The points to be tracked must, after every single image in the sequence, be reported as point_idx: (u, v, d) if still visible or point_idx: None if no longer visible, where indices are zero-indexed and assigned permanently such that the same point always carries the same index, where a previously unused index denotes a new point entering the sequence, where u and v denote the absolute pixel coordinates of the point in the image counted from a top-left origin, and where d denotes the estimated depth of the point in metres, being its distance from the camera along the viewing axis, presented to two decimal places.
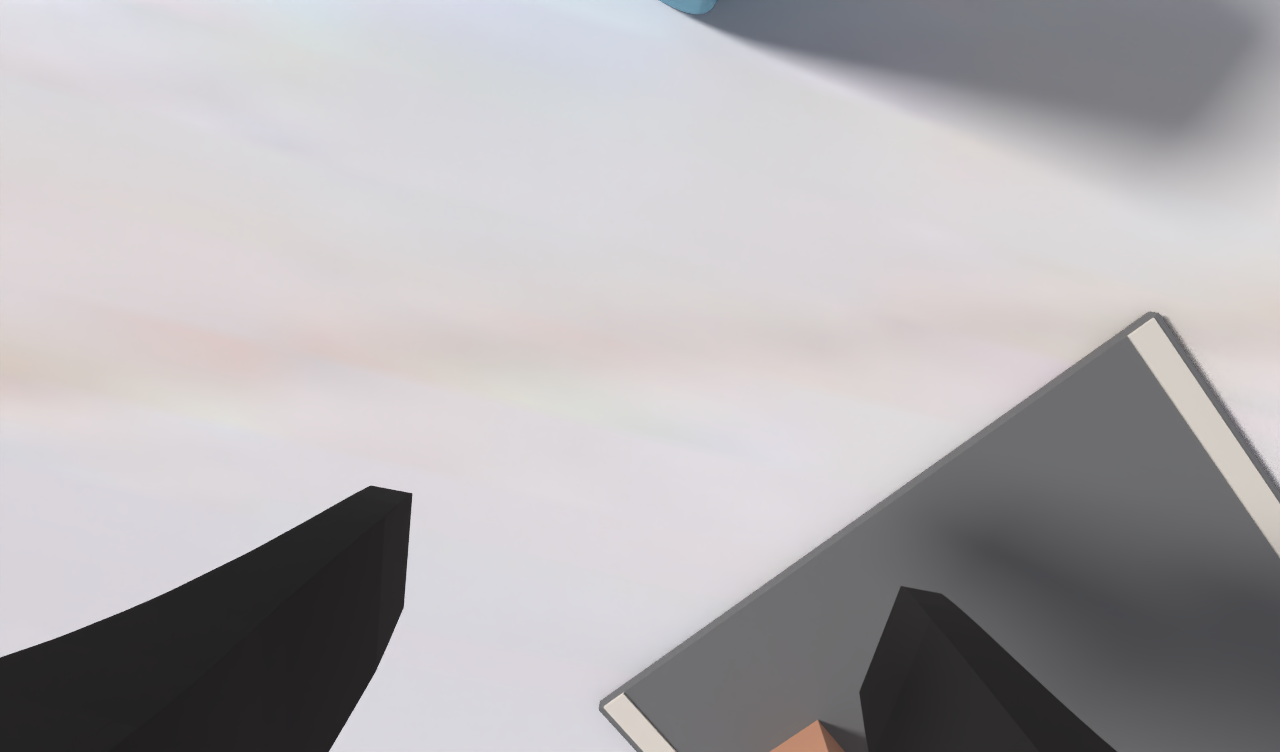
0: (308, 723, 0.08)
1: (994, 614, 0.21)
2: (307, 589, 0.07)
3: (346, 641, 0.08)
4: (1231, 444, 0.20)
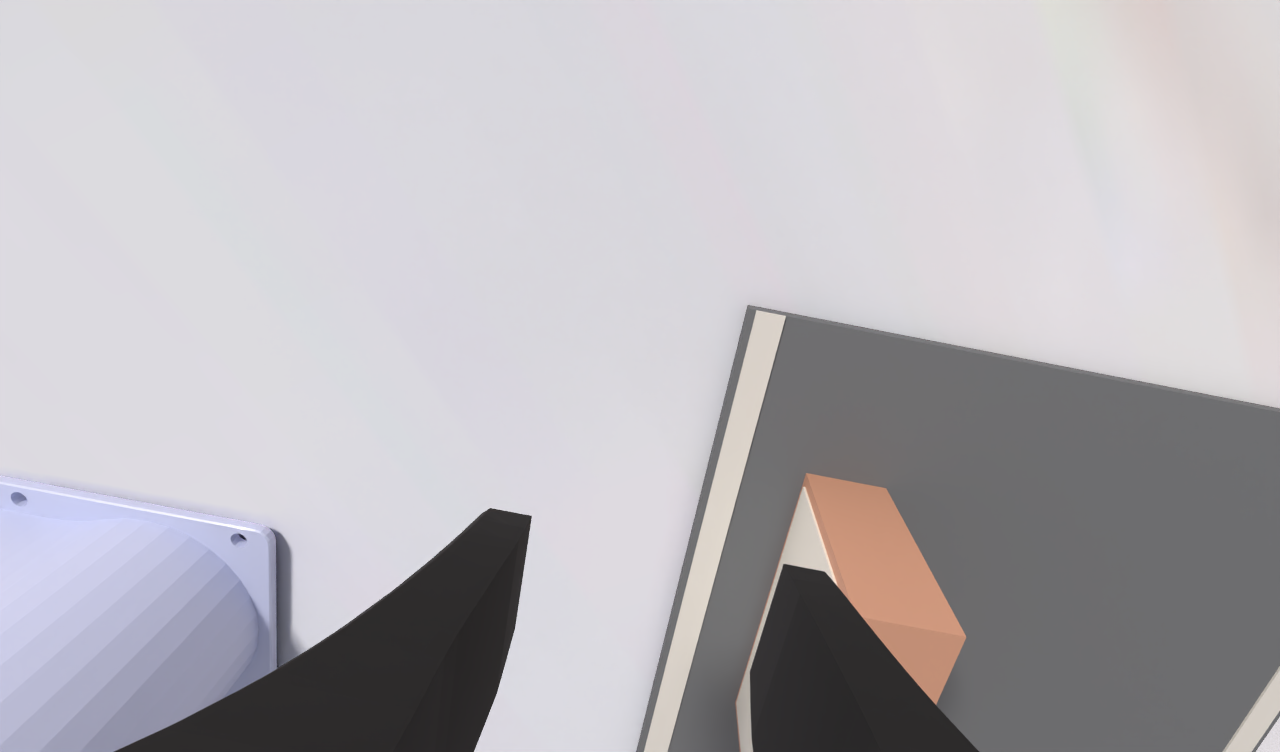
0: (456, 750, 0.08)
1: (1089, 538, 0.21)
2: (471, 620, 0.07)
3: (485, 667, 0.08)
4: None
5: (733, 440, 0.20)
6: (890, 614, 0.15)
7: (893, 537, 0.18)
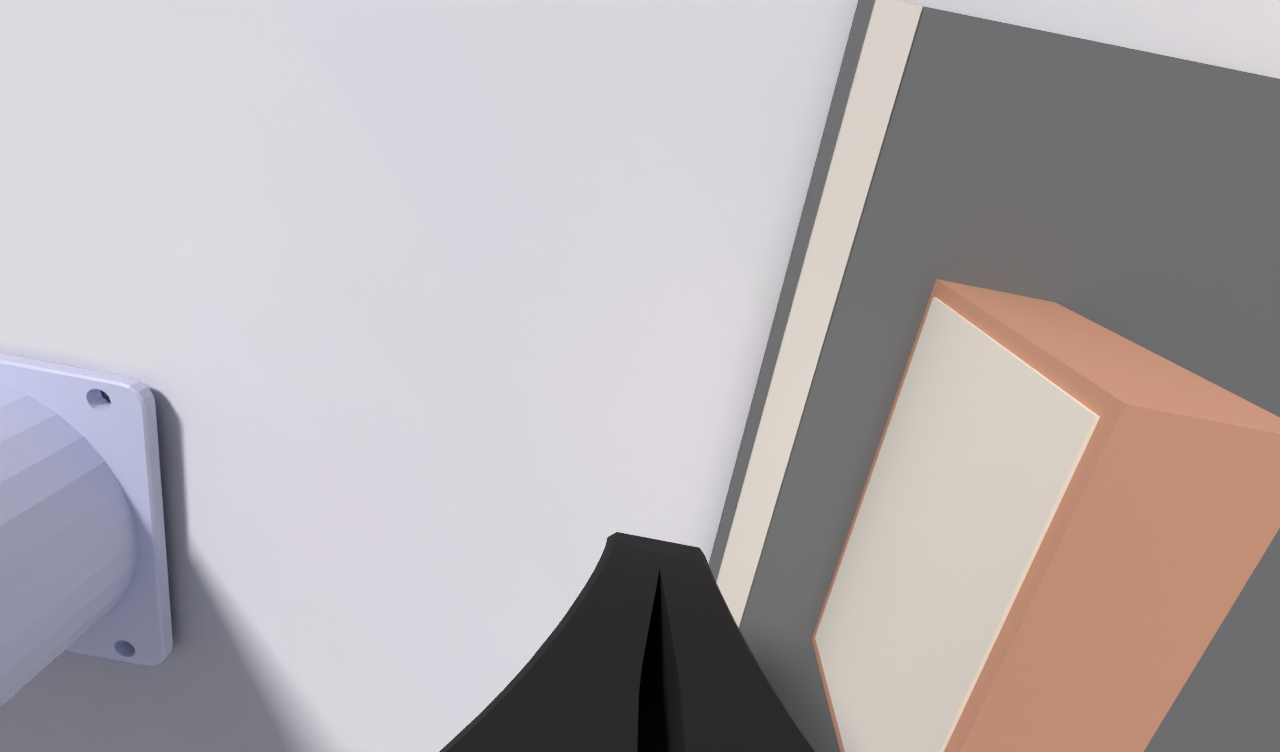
0: None
1: None
2: (643, 652, 0.07)
3: None
4: None
5: (829, 226, 0.13)
6: (1181, 408, 0.08)
7: (1106, 339, 0.11)
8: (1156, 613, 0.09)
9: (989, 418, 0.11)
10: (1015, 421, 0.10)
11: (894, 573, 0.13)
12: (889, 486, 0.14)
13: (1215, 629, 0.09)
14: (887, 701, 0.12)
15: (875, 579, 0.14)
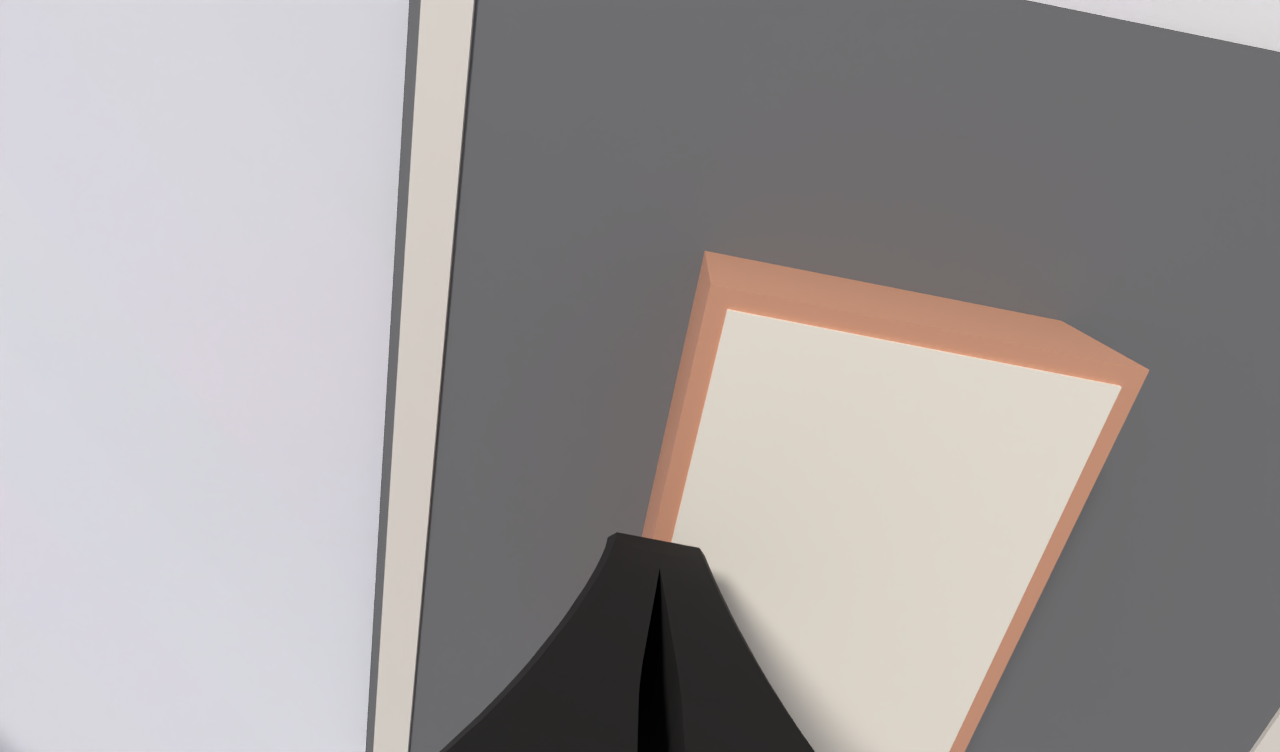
0: None
1: None
2: (643, 652, 0.07)
3: None
4: None
5: (431, 159, 0.12)
6: (1096, 346, 0.10)
7: (867, 289, 0.11)
8: None
9: (948, 423, 0.10)
10: (989, 414, 0.10)
11: (809, 612, 0.11)
12: (738, 544, 0.11)
13: None
14: (862, 705, 0.12)
15: (763, 635, 0.12)
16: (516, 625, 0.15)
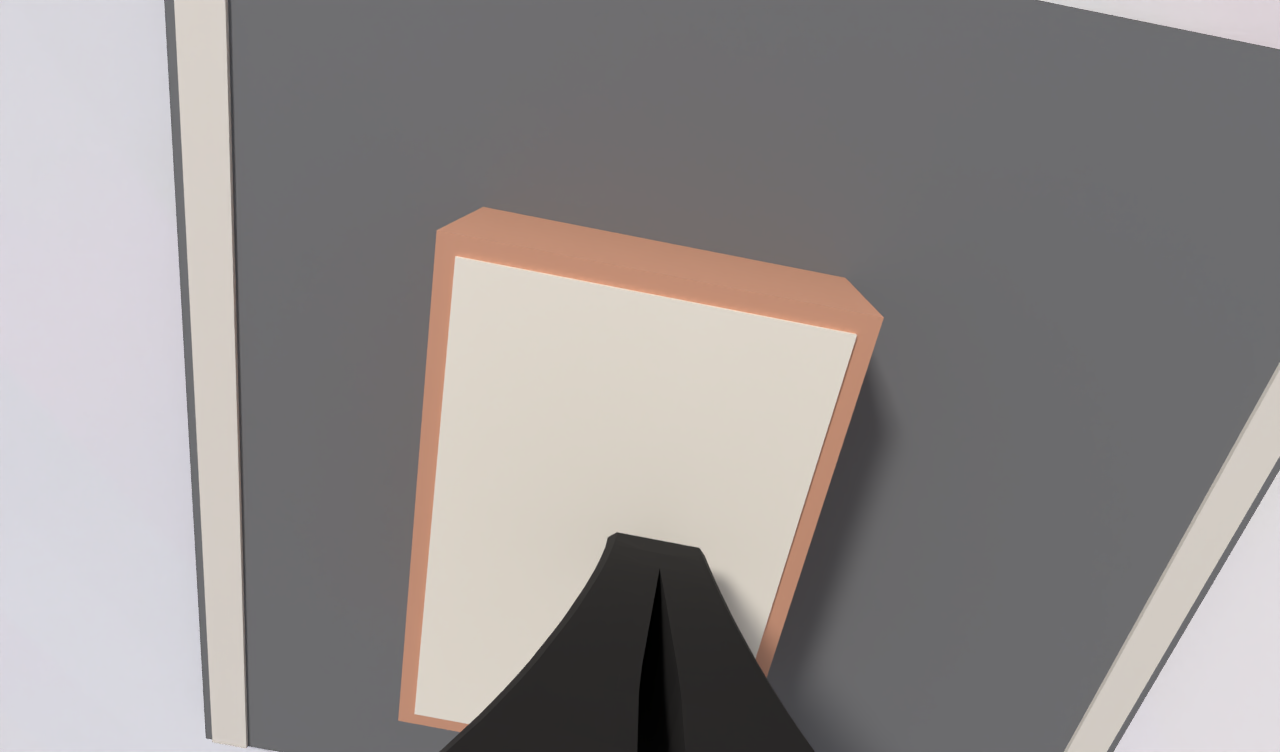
0: None
1: None
2: None
3: None
4: None
5: (201, 114, 0.11)
6: (849, 298, 0.10)
7: (638, 243, 0.11)
8: None
9: (690, 373, 0.10)
10: (730, 364, 0.10)
11: (580, 570, 0.11)
12: (499, 499, 0.11)
13: None
14: None
15: (538, 593, 0.11)
16: (339, 593, 0.15)
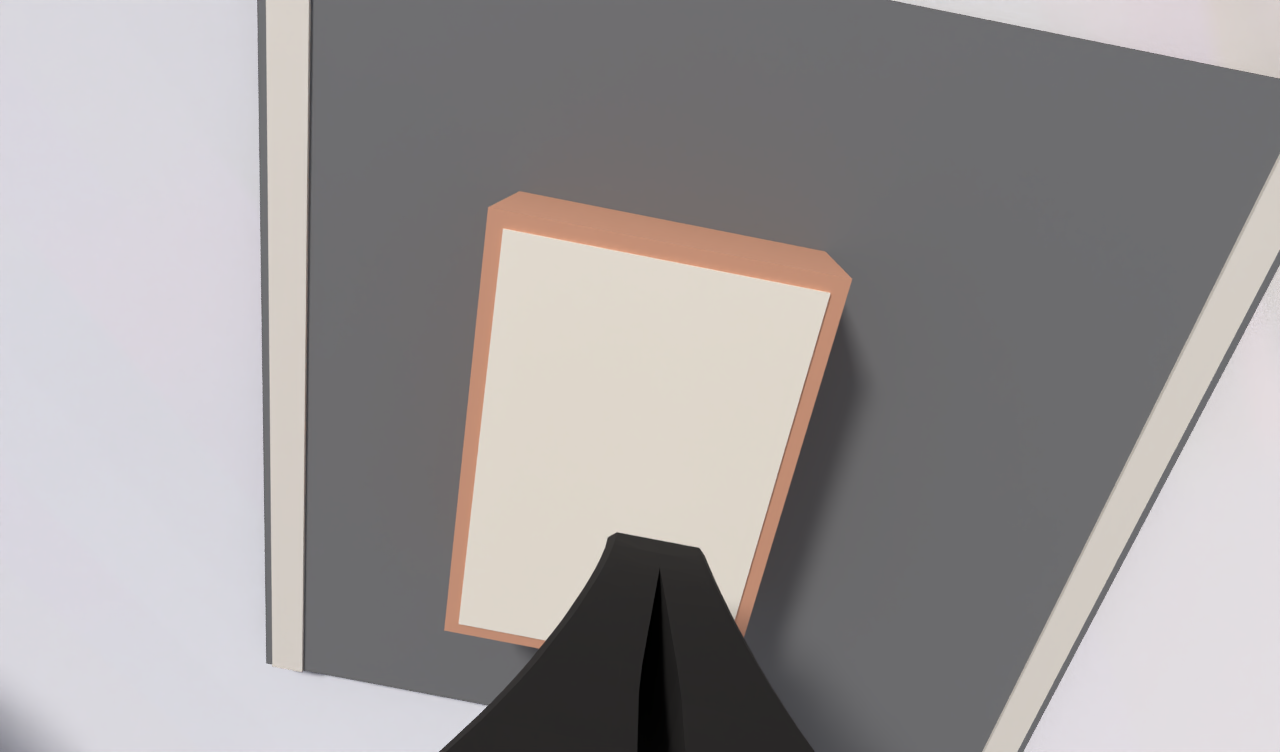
0: None
1: None
2: None
3: None
4: (1228, 329, 0.14)
5: (284, 113, 0.14)
6: (826, 265, 0.13)
7: (650, 221, 0.13)
8: None
9: (693, 325, 0.12)
10: (727, 318, 0.12)
11: (601, 495, 0.13)
12: (535, 433, 0.13)
13: None
14: None
15: (565, 515, 0.14)
16: (388, 529, 0.17)
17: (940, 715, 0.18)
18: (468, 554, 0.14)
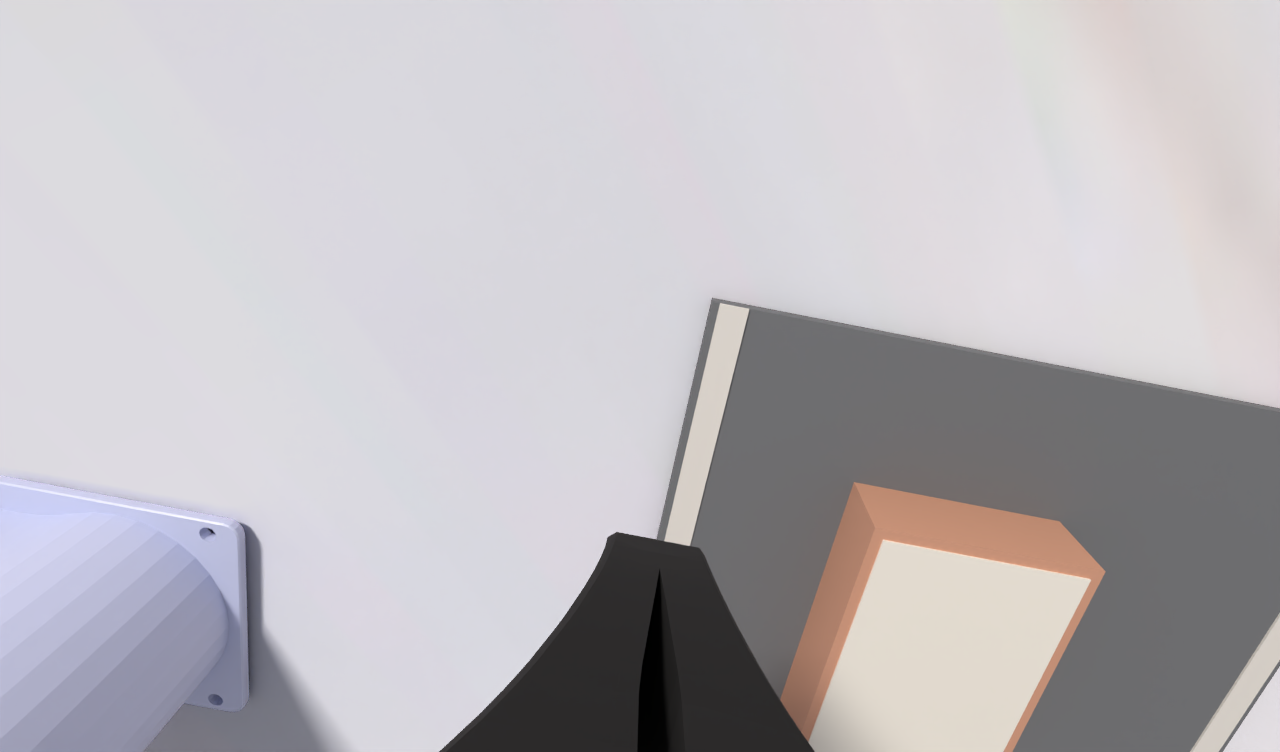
0: None
1: None
2: (643, 651, 0.07)
3: None
4: None
5: (700, 433, 0.20)
6: (1078, 551, 0.19)
7: (949, 508, 0.20)
8: None
9: (998, 596, 0.19)
10: (1020, 591, 0.19)
11: (916, 692, 0.20)
12: (879, 655, 0.20)
13: None
14: (944, 743, 0.21)
15: (889, 704, 0.20)
16: None
17: None
18: (816, 726, 0.21)
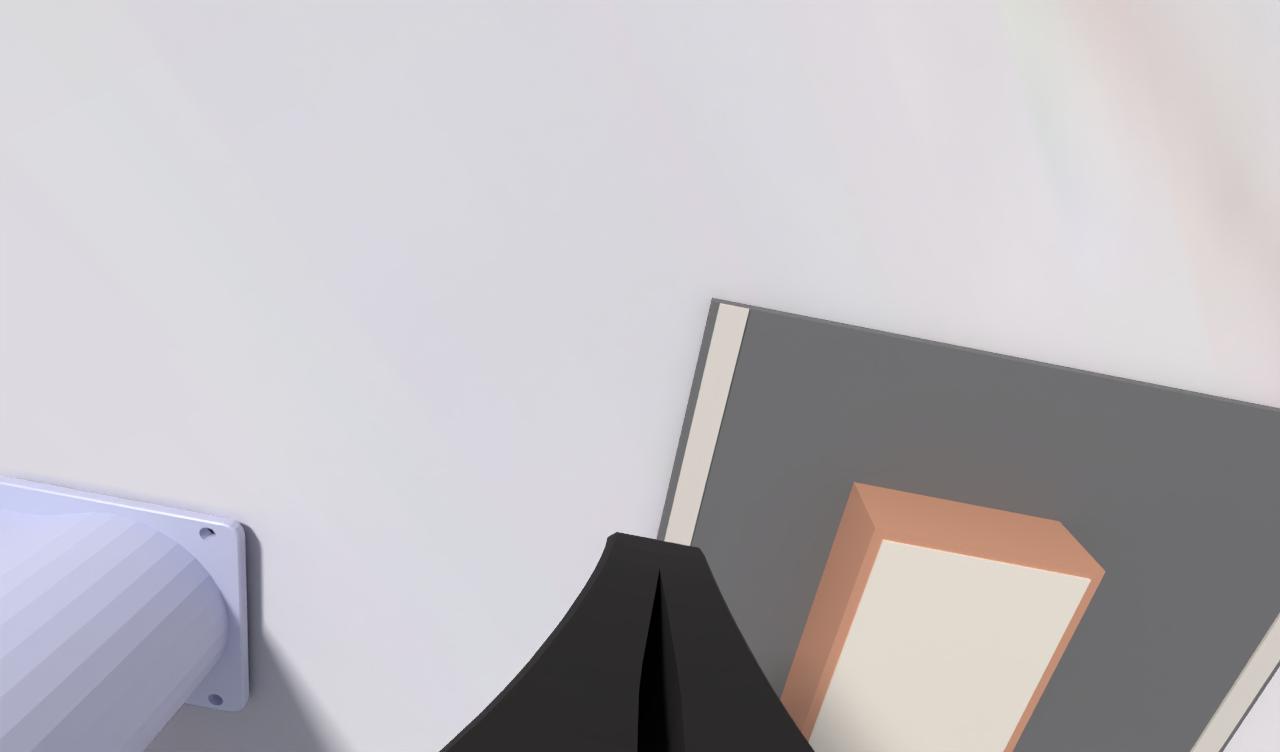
0: None
1: None
2: (643, 651, 0.07)
3: None
4: None
5: (700, 433, 0.20)
6: (1078, 551, 0.19)
7: (949, 508, 0.20)
8: None
9: (998, 596, 0.19)
10: (1020, 591, 0.19)
11: (916, 692, 0.20)
12: (879, 655, 0.20)
13: None
14: (944, 743, 0.21)
15: (889, 704, 0.20)
16: None
17: None
18: (816, 726, 0.21)
